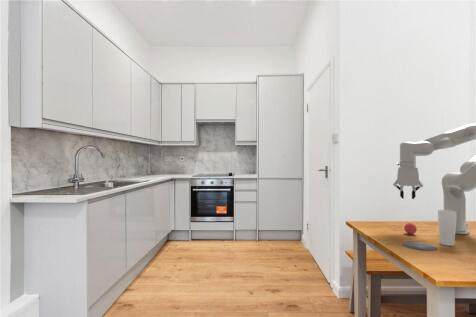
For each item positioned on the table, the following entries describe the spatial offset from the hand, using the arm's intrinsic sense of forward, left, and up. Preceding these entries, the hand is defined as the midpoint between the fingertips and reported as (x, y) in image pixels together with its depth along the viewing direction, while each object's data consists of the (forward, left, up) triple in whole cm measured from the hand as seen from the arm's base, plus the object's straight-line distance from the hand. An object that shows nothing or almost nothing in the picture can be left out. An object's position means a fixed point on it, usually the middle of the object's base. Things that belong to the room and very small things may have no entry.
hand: (407, 198), depth 161 cm
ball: (+7, +6, -15) cm, 17 cm away
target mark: (+27, +22, -17) cm, 39 cm away
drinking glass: (+12, +26, -18) cm, 34 cm away
